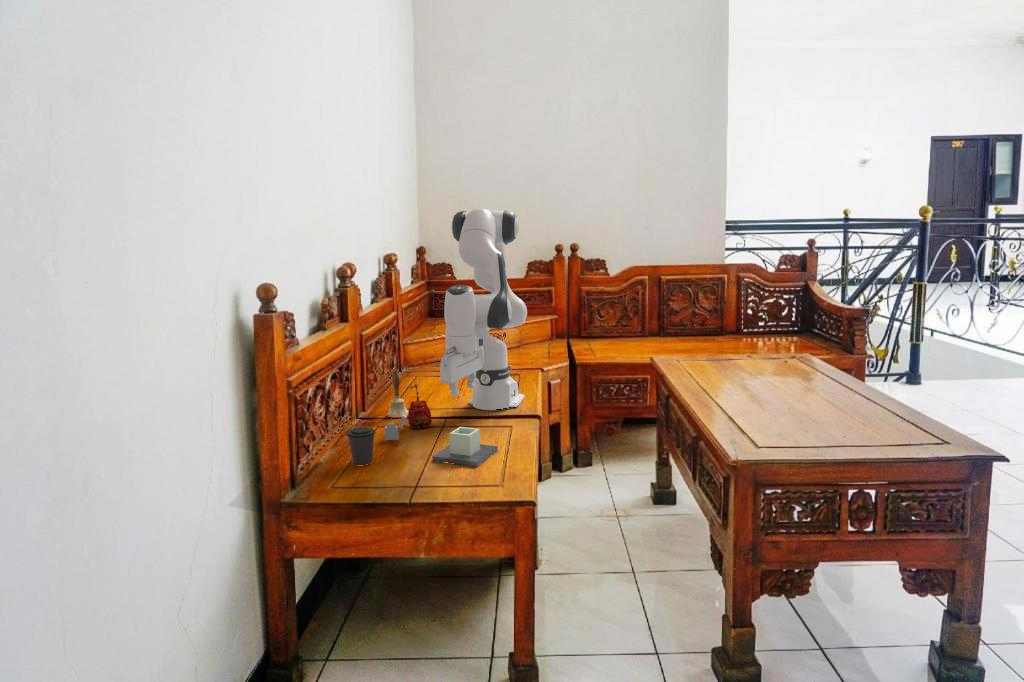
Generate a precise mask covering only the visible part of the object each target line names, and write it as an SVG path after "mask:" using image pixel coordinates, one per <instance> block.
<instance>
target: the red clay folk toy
mask: <svg viewBox="0 0 1024 682" xmlns="http://www.w3.org/2000/svg"><path fill="white" fill-rule="evenodd" d="M414 382H415V384H414V385H410V386H409V387H410V389H413V388H415V390H416V392H415V393H416V401H413V400H412V401H411V402H410V406H409V408H408V417H407V419H408V421H407V423H408V425H409V428H410V429H412V430H414V429H415V430H418V429H423V430H424V429H428V428H431V424H432V413H431V409H430V407H429V405H428V404H427V401H426V400H424V399H423V400H420V397H419V394H420V393H419V392H420V391H418V385H419V383H418V384H417V381H416V380H415V381H414Z"/></svg>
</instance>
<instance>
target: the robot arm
mask: <svg viewBox="0 0 1024 682" xmlns="http://www.w3.org/2000/svg"><path fill="white" fill-rule="evenodd" d="M452 218H453V219H452V221H451V224H450V225H451V228H450V229H451V232H452V236H453V238H454V240H456V242H458V253H459V256H460V258H461V259H462V261H463V262H464V263H465V264H466V265H468V266H469V267H471V268H473V279H474V282H475V284H476V285H477V286H478V287H480V288H481V289H484V290H486V291H489V292H491V293H488V294H485V293H483V294H477V293H476V294H475V293H474V289H473V287H472V286H469V285H466V284H459V285H453V286H450V287H448V288H447V289H446V291H445V297H444V322H445V326H446V328H445V332H444V339H445V350H444V354H443V355H442V357H441V358H440V364H439V365H440V366H439V370H440V371H439V380H440V382H441V383H442V384H445V385H446V384H448V387H449V390H450V395H451V397H454V398H455V397H458V396H459V395H460V389H458V381H460V380H463V379H464V378H468V379H467V381H466V388H467V389H472V391H471V392H472V393H471V395H472V396H471V397H472V398H471V399H470V400H469V401H468V402H469V404H470V405H472V406H473V408H475V409H478V410H482V411H497V410H496V409H502V410H504V409H503V408H507V409H510V408H509V407H517V406H518V405H519V406H520V404H521V403H522V401H524V399H525V394H523V393H519V385H518V383H517V381H516V380H514V379H513V378H512V377H511V372H510V371H512V369H513V367H512V366H513V365H512V364H508V347H507V344H506V343H505V342H504V341H503V340H501V339H499V338H497V337H495V336H493V335H491V334H490V332H489V331H490V330H493V329H495V330H502V329H511V328H514V327H520V326H522V325H523V324H524V323H525V322H526V319H527V317H528V308H527V306H526V303H525V302H524V300H522V299H521V298H520V297H518V296H517V295H516V294H515V293H514V292H513V291H512V289H511V287H510V285H509V283H508V277H507V268H506V266H507V263H506V246H505V245H509V244H510V243H512V242H514V241H515V240H517V236H518V233H519V229H520V225H519V220H518V218H517V215H516V213H515V212H513V211H509V210H497V209H485V208H474V209H472V210H470V211H469V210H468V211H467V210H461V211H458V212H456V213H455V214H454V215H453V217H452ZM519 406H518V407H519ZM518 407H517V408H518Z"/></svg>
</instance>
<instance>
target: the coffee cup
mask: <svg viewBox="0 0 1024 682" xmlns="http://www.w3.org/2000/svg"><path fill="white" fill-rule="evenodd" d="M375 434H376V430H375V429H374V428H373V427H366V426H361V427H354V428H352V429H349V430H348V431H347V433H346V436H347V437H348V442H349V443H348V444H349V448H350V454H351V459H352V464H353V465H354V464H355V465H366V464H370V463H371V462H372V463H373V459H374V456H373V455H374V439H375V437H374V436H375ZM355 465H354V466H355ZM370 465H371V464H370Z"/></svg>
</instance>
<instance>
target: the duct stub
mask: <svg viewBox="0 0 1024 682" xmlns="http://www.w3.org/2000/svg"><path fill="white" fill-rule="evenodd" d="M461 434H468V435H469V434H470V433H461ZM498 452H499V448H498V446H497V445H489V444H481V443H480V449H479V450H478V451H476V452H475V453H474V454H472V455H471V456H467V455H459V454H452V453H450V444H449V445H447V446H446V447H443V448H442V449H441V450H439V451H438V452H437V453H435V454H433V455H432V456H431V458H432V459H431V460H432V462H435V461H439V462H438V463H442V462H448V463H447V464H449V463H454V464H453V465H457V464H461V465H460V466H464V465H469V466H468V467H471V466H475V467H474V468H478V467H479V466H480V465H482V464H483V463H484V462H486V461H487V460H488V459H490V458H491V457H492V456H494V455H495V454H497V453H498ZM494 453H495V454H494ZM491 455H492V456H491ZM490 456H491V457H490ZM489 457H490V458H489ZM486 459H487V460H486ZM485 460H486V461H485ZM481 463H482V464H481ZM477 466H478V467H477Z"/></svg>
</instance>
